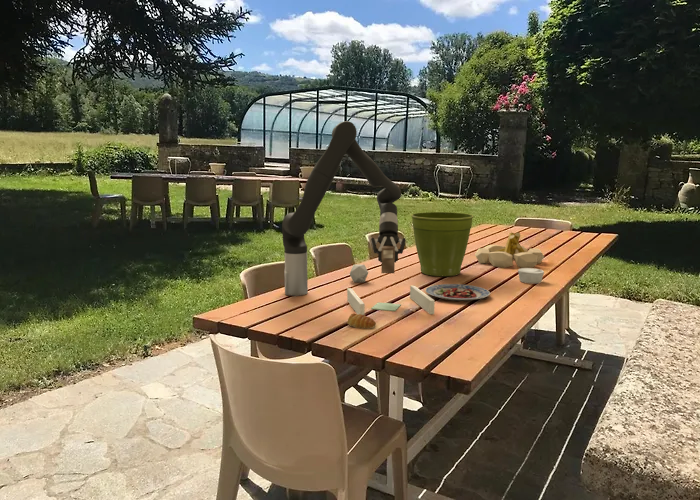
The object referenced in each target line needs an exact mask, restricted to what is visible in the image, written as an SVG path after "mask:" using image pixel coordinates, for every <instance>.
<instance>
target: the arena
mask: <svg viewBox="0 0 700 500" xmlns="http://www.w3.org/2000/svg"><path fill="white" fill-rule="evenodd" d="M409 289H410V290H409V298H410V299H411V300H412V301H413V302H415V303H416V304H417V305H418V306H419V307H421V308H422V309H423V310H424V311H425V312H426V313H428V314H429V315H435V303H436V301H435V299H433V298H432V297H431V296H430V295H429V294H427V293H426V292H424V291H422V290H421V289H419V288H418V287H417V286H415V285H410V287H409ZM346 291H347V292H346V293H347V295H346V296H347V298H346V299H347V302H348V303H349V305H350V307H351V308H352V309H353V311H354V312H355V314H357V315H358V314H361V315H365V313H366V312H365V307H366V306H365V302H364V301H363V300H362V299H361V298H360V297H359V296H358V294H357V293H356V292H355V291H354V289H353V288H351V287H350V288H348V287H347V290H346ZM365 316H366V315H365Z"/></svg>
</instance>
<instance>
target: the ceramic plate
mask: <svg viewBox="0 0 700 500" xmlns="http://www.w3.org/2000/svg"><path fill="white" fill-rule="evenodd" d="M425 293H426V294H427V295H429V296H433V297H436V298H439V299H441V300H446V301H455V302H468V301H469V302H470V301H475V300H480V299H484V298H486V297H490V294H491V292H490V291H489V290H488V289H486V288H484V287H480V286H476V285H470V284H461V283H444V284H435V285H430V286H428V287H426V288H425Z"/></svg>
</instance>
